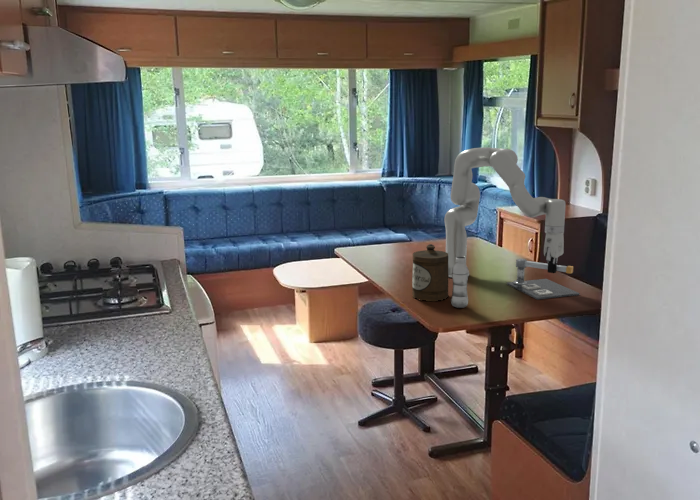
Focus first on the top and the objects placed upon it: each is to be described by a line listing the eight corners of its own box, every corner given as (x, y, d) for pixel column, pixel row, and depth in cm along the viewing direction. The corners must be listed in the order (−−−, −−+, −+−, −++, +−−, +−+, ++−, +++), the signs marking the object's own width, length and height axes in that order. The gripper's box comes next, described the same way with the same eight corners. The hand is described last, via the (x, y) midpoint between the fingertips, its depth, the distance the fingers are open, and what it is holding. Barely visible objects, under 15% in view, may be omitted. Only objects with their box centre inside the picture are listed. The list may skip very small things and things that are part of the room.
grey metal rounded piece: (517, 285, 276) (518, 270, 275) (510, 282, 282) (511, 266, 280) (530, 284, 278) (530, 268, 276) (522, 281, 283) (523, 265, 282)
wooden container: (406, 293, 269) (406, 242, 264) (437, 289, 274) (438, 239, 270) (422, 303, 256) (423, 249, 251) (454, 299, 261) (456, 246, 256)
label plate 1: (528, 289, 270) (528, 287, 270) (521, 286, 275) (521, 284, 275) (540, 288, 272) (540, 286, 272) (534, 285, 277) (534, 283, 276)
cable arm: (514, 267, 278) (514, 260, 277) (518, 265, 281) (518, 258, 280) (570, 275, 263) (570, 268, 263) (573, 272, 267) (574, 265, 266)
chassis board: (536, 299, 259) (537, 297, 259) (506, 284, 281) (506, 282, 281) (579, 295, 264) (579, 293, 264) (546, 280, 287) (546, 278, 287)
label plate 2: (540, 295, 262) (540, 293, 262) (533, 292, 267) (533, 290, 266) (552, 293, 264) (552, 292, 263) (545, 290, 268) (545, 289, 268)
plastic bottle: (464, 310, 246) (465, 260, 242) (448, 307, 250) (449, 258, 245) (470, 306, 251) (472, 256, 247) (454, 303, 255) (455, 254, 250)
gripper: (556, 233, 255) (553, 277, 259) (570, 227, 266) (567, 270, 270) (538, 231, 260) (535, 274, 264) (552, 225, 271) (550, 267, 275)
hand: (551, 272), depth 267 cm, fingers closed
